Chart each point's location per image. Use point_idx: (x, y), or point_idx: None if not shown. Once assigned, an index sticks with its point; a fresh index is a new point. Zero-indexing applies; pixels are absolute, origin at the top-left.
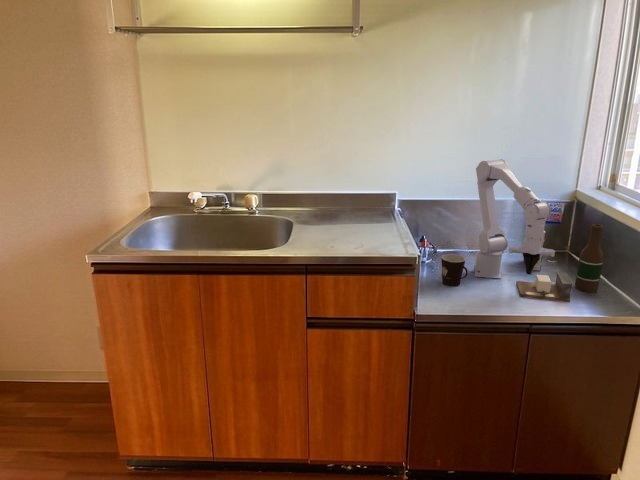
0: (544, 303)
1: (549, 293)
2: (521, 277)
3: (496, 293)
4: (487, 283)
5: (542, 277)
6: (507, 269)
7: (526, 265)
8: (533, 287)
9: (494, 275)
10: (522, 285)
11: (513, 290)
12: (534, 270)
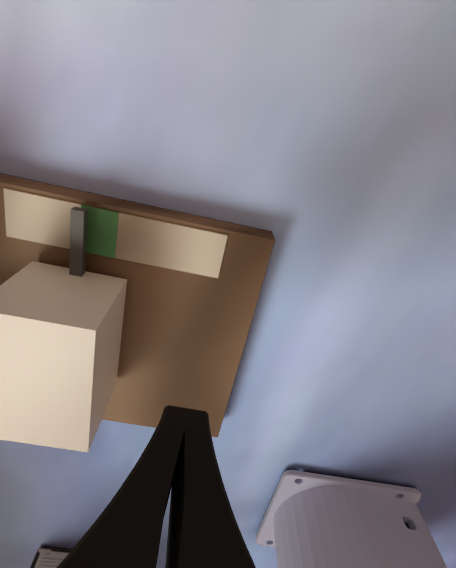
0: (111, 115)
1: (36, 258)
2: None
3: (416, 286)
4: (393, 419)
5: (44, 402)
6: None
7: (230, 516)
8: (134, 352)
9: (320, 493)
10: (202, 378)
11: (272, 335)
12: (68, 550)
